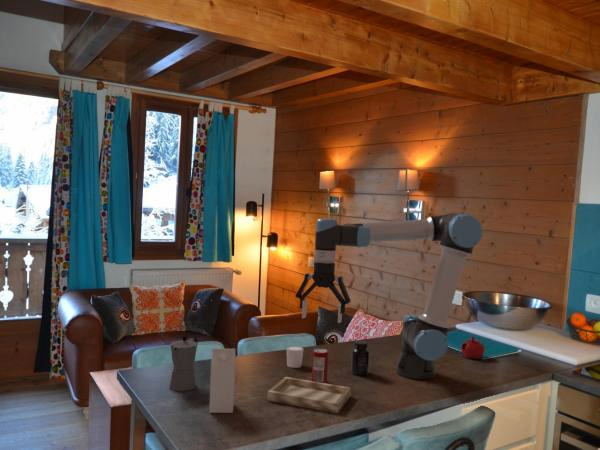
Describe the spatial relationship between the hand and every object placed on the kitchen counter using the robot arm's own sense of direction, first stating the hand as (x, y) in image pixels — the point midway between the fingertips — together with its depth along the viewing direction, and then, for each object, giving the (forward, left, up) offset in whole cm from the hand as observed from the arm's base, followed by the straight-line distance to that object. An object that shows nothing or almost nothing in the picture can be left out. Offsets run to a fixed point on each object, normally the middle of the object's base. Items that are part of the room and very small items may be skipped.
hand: (321, 320), depth 193 cm
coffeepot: (+41, +25, -23) cm, 53 cm away
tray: (-2, +16, -23) cm, 28 cm away
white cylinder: (+15, -14, -23) cm, 31 cm away
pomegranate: (-51, -62, -23) cm, 84 cm away
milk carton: (+20, +37, -23) cm, 48 cm away
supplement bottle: (-11, -17, -23) cm, 31 cm away
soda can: (0, 0, -23) cm, 23 cm away
